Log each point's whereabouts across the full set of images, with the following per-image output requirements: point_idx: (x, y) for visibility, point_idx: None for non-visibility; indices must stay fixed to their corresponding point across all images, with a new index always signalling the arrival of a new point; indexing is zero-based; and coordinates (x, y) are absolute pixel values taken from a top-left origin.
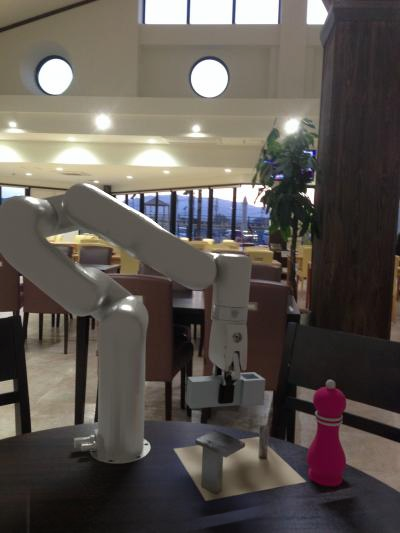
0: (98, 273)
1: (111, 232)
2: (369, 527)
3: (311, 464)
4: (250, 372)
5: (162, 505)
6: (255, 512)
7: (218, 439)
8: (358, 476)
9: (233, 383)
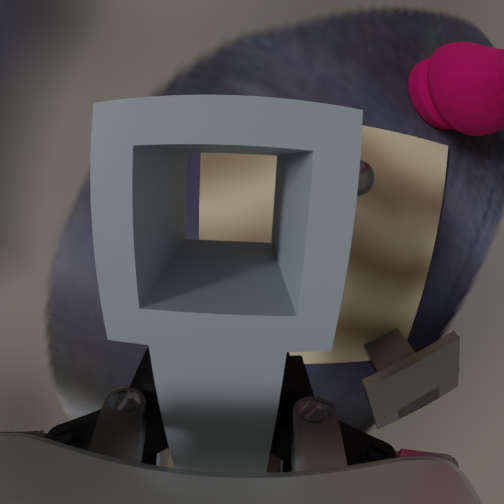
0: None
1: None
2: None
3: (472, 135)
4: (94, 157)
5: (355, 399)
6: (445, 283)
7: (410, 390)
8: (431, 19)
9: (340, 424)
